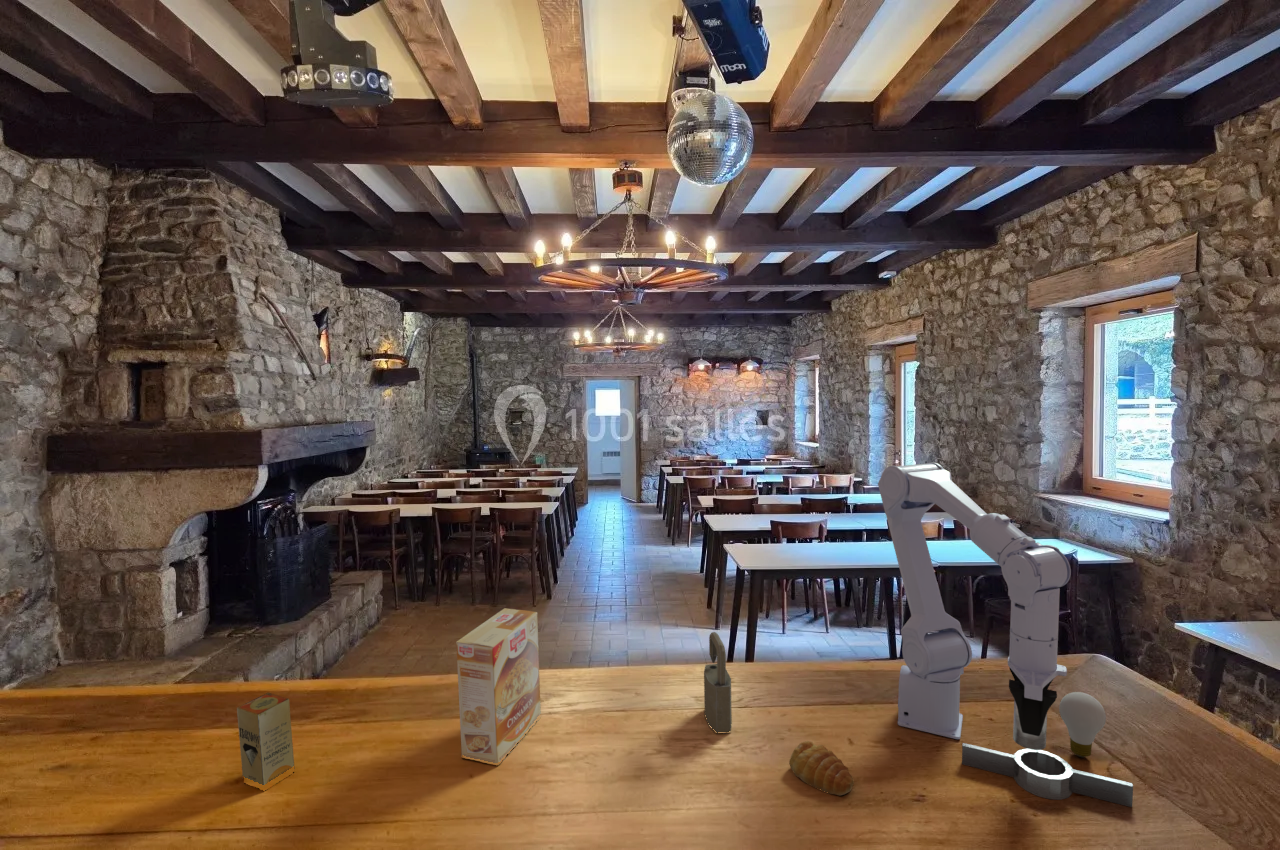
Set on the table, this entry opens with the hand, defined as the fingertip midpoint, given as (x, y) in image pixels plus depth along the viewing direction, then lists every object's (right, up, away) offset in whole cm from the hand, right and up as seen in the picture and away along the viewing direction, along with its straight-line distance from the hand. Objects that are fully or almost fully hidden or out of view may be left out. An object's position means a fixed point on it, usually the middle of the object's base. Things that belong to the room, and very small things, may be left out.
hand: (1030, 725), depth 91 cm
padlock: (-42, -9, +20) cm, 47 cm away
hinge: (+3, -9, +2) cm, 10 cm away
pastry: (-28, -10, +5) cm, 31 cm away
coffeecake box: (-78, -10, +17) cm, 81 cm away
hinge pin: (0, -3, 0) cm, 3 cm away
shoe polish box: (-112, -12, +7) cm, 113 cm away
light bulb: (+12, -9, +8) cm, 17 cm away
